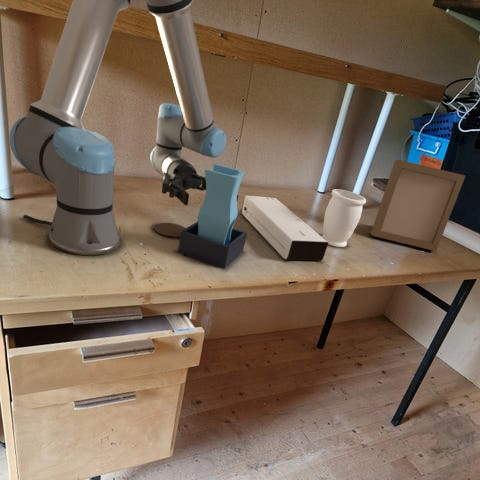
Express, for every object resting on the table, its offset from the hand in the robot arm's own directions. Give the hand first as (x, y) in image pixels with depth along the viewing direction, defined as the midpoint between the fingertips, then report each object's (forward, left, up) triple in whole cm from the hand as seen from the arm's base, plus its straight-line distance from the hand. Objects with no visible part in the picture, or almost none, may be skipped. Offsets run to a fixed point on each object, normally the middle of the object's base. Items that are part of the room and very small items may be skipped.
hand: (212, 200), depth 102 cm
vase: (+3, -3, -12) cm, 12 cm away
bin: (+3, -3, -12) cm, 13 cm away
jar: (+29, +33, -12) cm, 46 cm away
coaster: (-11, +1, -12) cm, 16 cm away
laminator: (+13, +22, -12) cm, 29 cm away
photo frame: (+49, +58, -12) cm, 77 cm away
